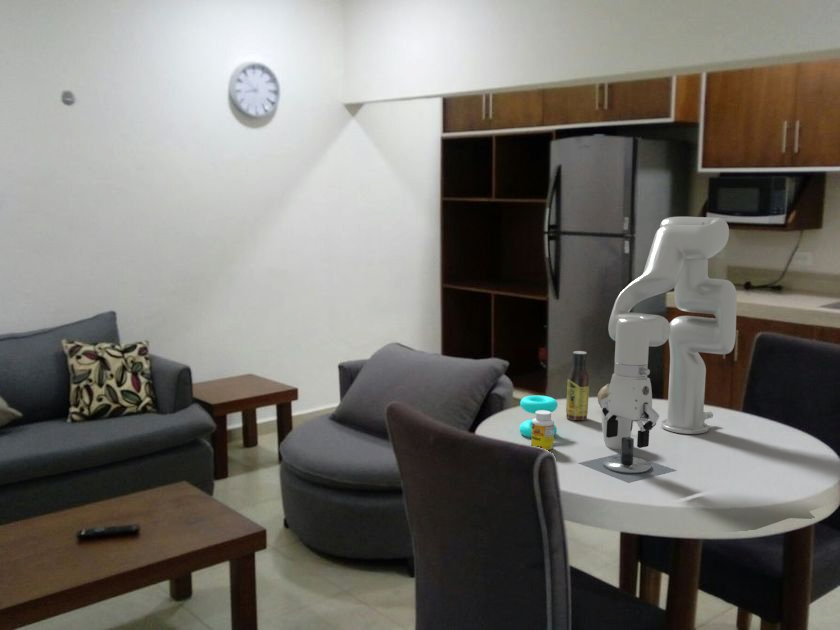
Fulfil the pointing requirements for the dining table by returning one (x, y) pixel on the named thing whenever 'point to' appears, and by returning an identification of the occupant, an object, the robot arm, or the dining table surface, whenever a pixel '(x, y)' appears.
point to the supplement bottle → (542, 430)
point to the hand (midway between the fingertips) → (626, 441)
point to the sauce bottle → (578, 388)
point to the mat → (655, 470)
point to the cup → (623, 431)
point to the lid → (627, 460)
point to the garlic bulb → (603, 393)
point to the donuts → (533, 405)
